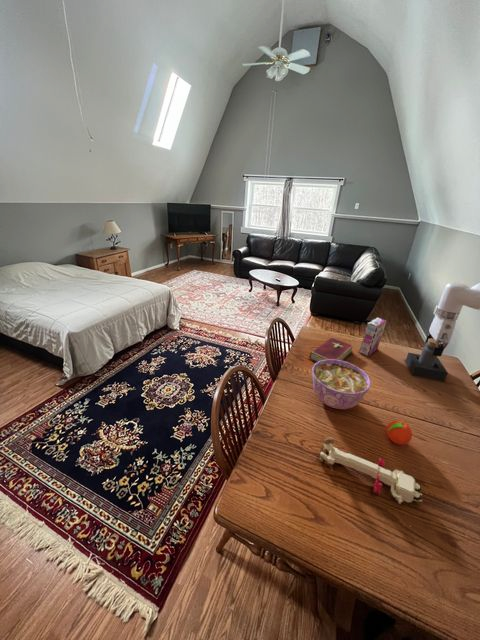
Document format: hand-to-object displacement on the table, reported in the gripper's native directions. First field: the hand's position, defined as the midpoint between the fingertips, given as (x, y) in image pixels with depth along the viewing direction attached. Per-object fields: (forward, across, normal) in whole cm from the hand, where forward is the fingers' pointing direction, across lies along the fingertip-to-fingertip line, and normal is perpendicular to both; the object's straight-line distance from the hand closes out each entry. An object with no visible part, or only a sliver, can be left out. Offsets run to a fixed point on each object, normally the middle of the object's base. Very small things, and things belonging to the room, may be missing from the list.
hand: (432, 349), depth 115 cm
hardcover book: (+11, -2, +40) cm, 42 cm away
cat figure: (+11, -63, +31) cm, 71 cm away
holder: (+11, 0, 0) cm, 11 cm away
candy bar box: (+11, +9, +22) cm, 26 cm away
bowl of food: (+11, -34, +39) cm, 53 cm away
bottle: (+11, 0, 0) cm, 11 cm away
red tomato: (+11, -47, +21) cm, 53 cm away
